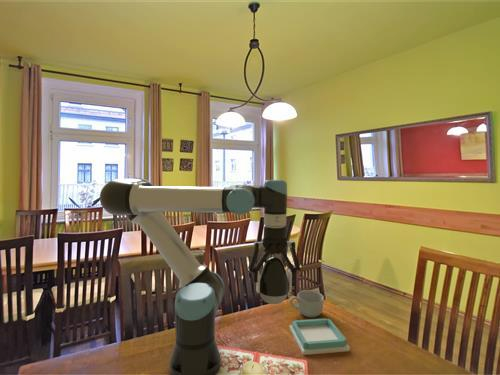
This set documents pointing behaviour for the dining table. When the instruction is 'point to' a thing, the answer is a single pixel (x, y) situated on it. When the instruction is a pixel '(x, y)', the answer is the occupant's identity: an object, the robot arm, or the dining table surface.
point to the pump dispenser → (274, 281)
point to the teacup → (309, 303)
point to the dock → (318, 336)
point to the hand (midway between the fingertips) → (273, 290)
